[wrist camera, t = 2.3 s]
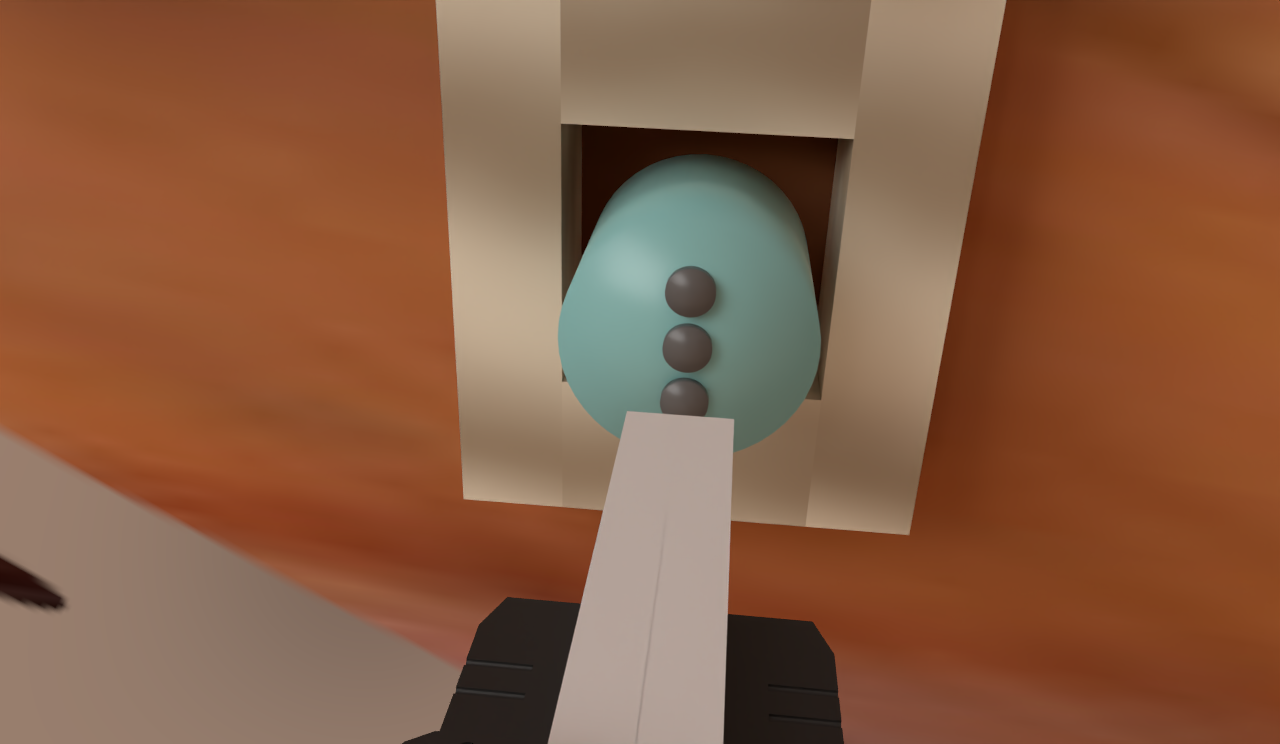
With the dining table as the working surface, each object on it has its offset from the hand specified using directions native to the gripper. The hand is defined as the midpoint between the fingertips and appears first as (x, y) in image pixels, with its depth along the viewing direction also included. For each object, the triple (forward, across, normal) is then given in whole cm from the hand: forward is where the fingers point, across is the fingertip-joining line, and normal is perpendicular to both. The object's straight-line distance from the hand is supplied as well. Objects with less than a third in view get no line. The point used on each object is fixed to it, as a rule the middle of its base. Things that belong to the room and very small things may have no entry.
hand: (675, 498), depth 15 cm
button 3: (+9, 0, 0) cm, 9 cm away
